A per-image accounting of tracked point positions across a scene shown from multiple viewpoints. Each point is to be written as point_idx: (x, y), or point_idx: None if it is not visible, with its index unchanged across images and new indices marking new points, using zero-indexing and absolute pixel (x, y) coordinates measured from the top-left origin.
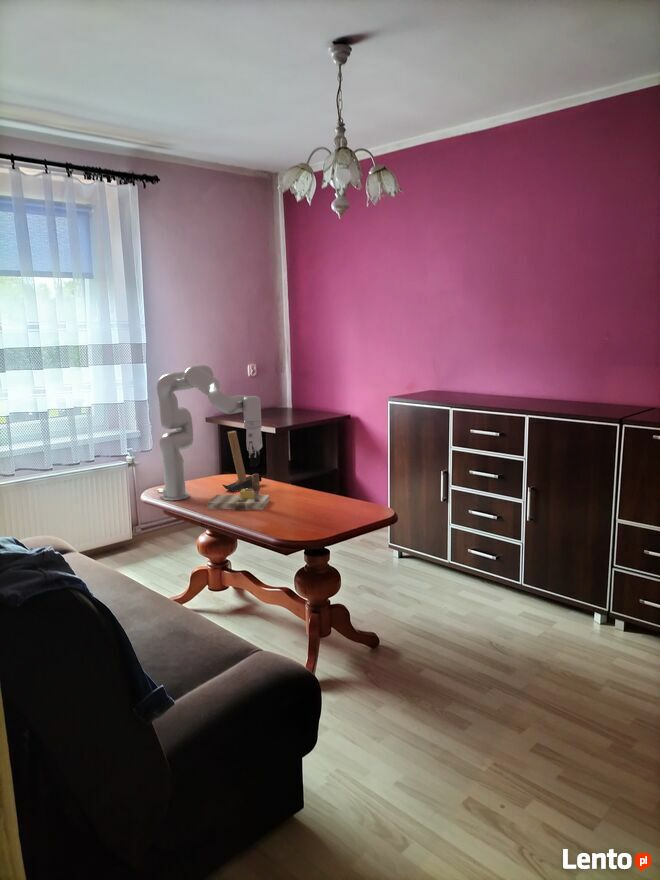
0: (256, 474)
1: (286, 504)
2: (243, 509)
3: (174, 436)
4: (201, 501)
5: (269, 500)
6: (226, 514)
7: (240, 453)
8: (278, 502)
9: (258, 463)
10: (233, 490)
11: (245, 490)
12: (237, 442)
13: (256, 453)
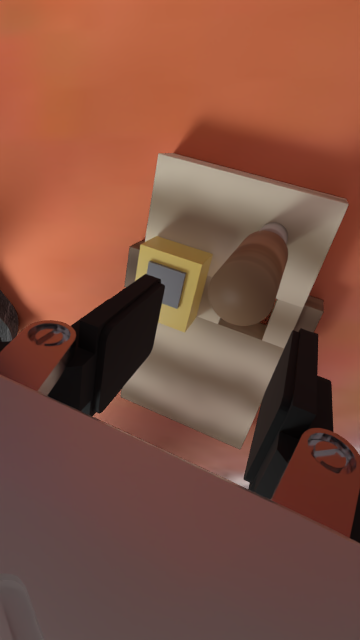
0: (241, 285)
1: (267, 26)
2: (322, 305)
3: None
4: (132, 426)
5: (174, 154)
6: (357, 381)
7: None
8: (206, 93)
9: (161, 294)
10: (12, 313)
11: (177, 305)
12: None
13: (65, 383)
